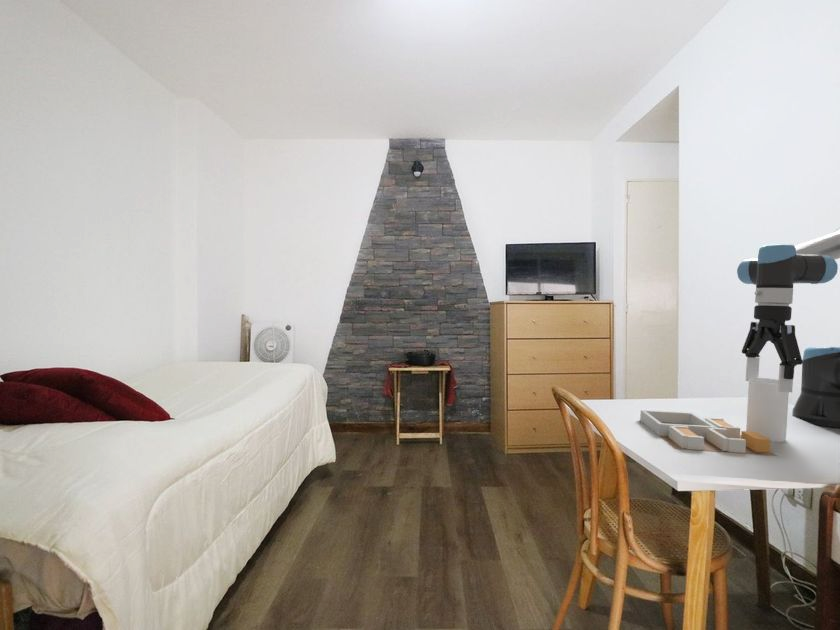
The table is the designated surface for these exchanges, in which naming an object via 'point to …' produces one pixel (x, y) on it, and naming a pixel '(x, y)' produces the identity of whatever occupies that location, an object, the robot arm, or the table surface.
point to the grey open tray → (725, 440)
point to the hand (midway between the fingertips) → (767, 386)
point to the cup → (767, 409)
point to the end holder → (662, 429)
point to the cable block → (756, 441)
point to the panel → (711, 445)
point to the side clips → (693, 441)
